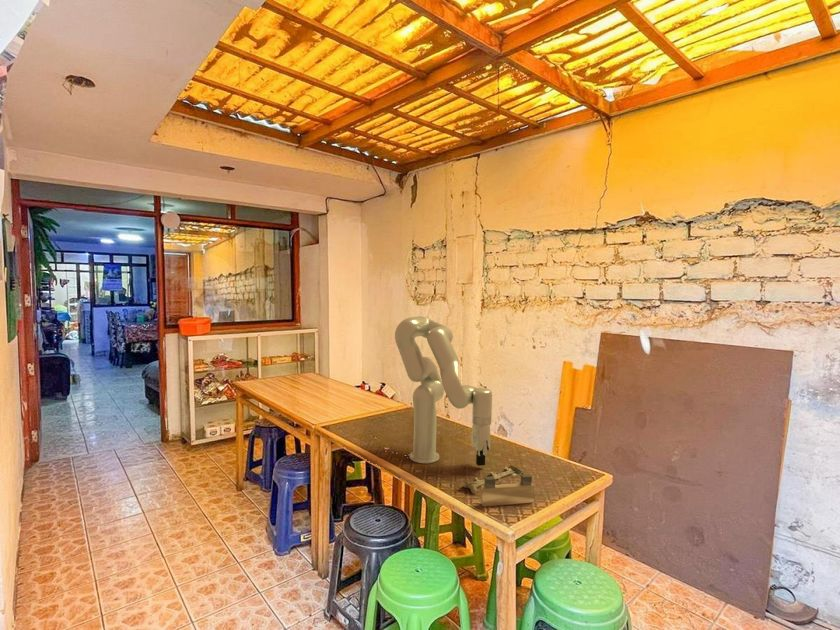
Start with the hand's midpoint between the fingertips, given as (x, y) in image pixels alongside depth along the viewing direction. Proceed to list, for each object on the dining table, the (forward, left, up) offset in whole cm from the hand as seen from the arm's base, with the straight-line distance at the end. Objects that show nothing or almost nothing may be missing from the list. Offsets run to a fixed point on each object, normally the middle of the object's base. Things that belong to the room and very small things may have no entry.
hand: (480, 464), depth 168 cm
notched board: (+27, 0, -2) cm, 27 cm away
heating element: (+11, +1, -2) cm, 12 cm away
